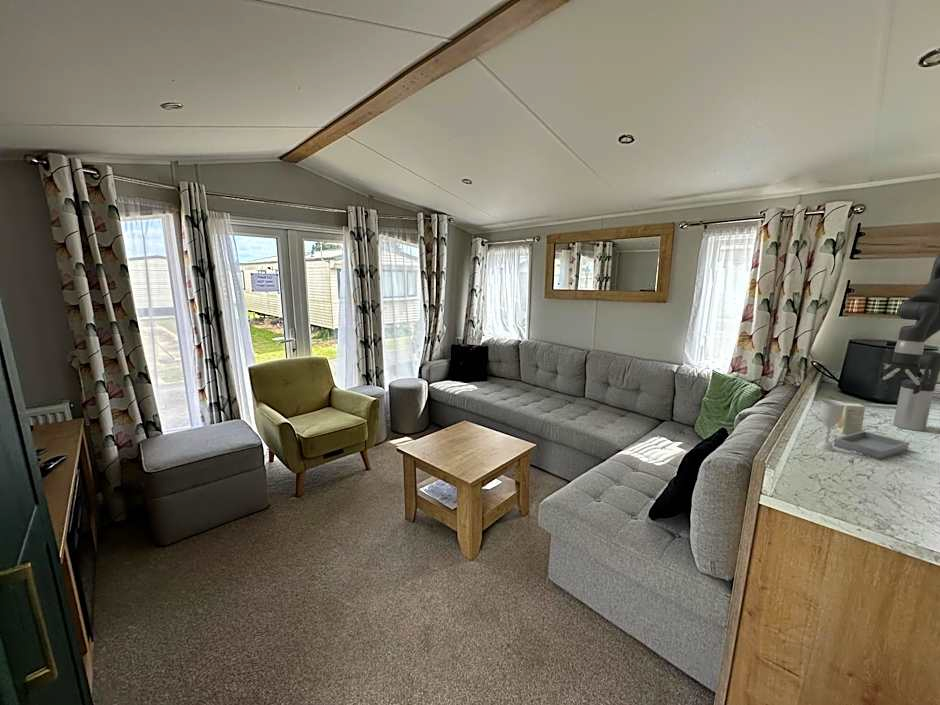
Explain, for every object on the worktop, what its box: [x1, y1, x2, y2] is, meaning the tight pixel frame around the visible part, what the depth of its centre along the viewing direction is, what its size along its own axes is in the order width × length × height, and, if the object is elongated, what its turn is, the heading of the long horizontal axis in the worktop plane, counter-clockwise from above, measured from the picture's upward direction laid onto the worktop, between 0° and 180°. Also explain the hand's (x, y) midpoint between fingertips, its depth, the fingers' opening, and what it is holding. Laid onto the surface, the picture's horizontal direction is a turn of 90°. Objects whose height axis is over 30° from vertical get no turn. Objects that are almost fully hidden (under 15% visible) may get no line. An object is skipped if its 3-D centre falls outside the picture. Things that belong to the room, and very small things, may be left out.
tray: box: [833, 430, 910, 461], centre depth 144 cm, size 20×13×3 cm, turn 113°
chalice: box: [815, 398, 846, 452], centre depth 142 cm, size 7×7×18 cm
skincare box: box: [836, 402, 866, 435], centre depth 158 cm, size 6×4×12 cm
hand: (899, 391), depth 157 cm, fingers open, 8 cm apart
